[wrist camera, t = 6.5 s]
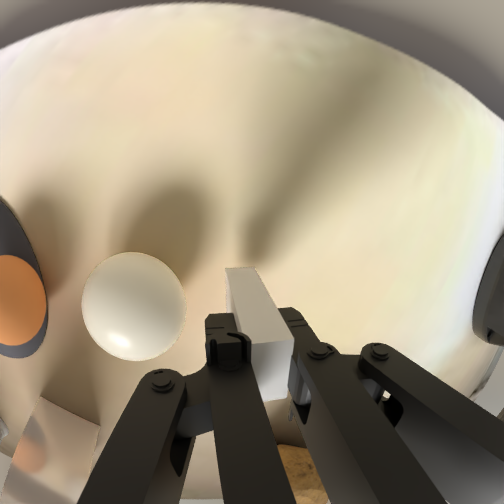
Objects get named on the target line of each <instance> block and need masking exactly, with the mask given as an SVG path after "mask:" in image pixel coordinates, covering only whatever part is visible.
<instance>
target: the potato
mask: <svg viewBox="0 0 504 504" xmlns="http://www.w3.org/2000/svg"><path fill="white" fill-rule="evenodd" d="M277 447H278V450H279V453H280V456H281V459H282V462H283V465H284V468H285V471H286V474H287V477H288V480H289V483H290V486H291V488H292V491H293V494H294V497H295V500H296V502H297V504H326V503H327V501H328V499H329V498H328V495H327V493H326V491H325V489H324V486H323V484H322V482H321V479H320V477H319V475H318V472H317V470H316V467H315V465H314V463H313V460H312V458H311V456H310V453H309V451H308V449H306V448H301V447H295V446H290V445H277Z"/></svg>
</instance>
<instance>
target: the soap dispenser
mask: <svg viewBox="0 0 504 504" xmlns="http://www.w3.org/2000/svg"><path fill="white" fill-rule="evenodd" d="M99 429H100V426H99V425H97V424H94V423H92V422H90V421H87V420H85V419H83V418H81V417H79V416H77V415H75V414H73V413H71V412H69V411H67V410H65V409H63V408H61V407H59V406H57V405H55V404H53V403H52V402H50V401H48V400H46V399H45V398H43V397H41V396H40V398H39V400H38V402H37V404H36V406H35V408H34V410H33V412H32V414H31V416H30V418H29V420H28V423H27V425H26V427H25V429H24V432H23V434H22V436H21V439H20V441H19V443H18V446H17V448H16V451H15V454H14V456H13V459H12V462H11V464H10V468H9V470H8V474H7V476H6V479H5V482H4V486H3V490H2V492H1V496H0V504H77V501H78V499H79V497H80V495H81V493H82V491H83V489H84V487H85V485H86V483H87V481H88V479H89V474H90V469H91V464H92V459H93V455H94V450H95V446H96V442H97V437H98V433H99Z"/></svg>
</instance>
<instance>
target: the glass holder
mask: <svg viewBox="0 0 504 504" xmlns="http://www.w3.org/2000/svg"><path fill="white" fill-rule="evenodd" d="M8 433H9V431H8V428H7V426H6V425H5V423H4V422H3V420H2V419H1V418H0V443H1V441H2V439H3V437H4V436H6V435H7V434H8Z"/></svg>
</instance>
